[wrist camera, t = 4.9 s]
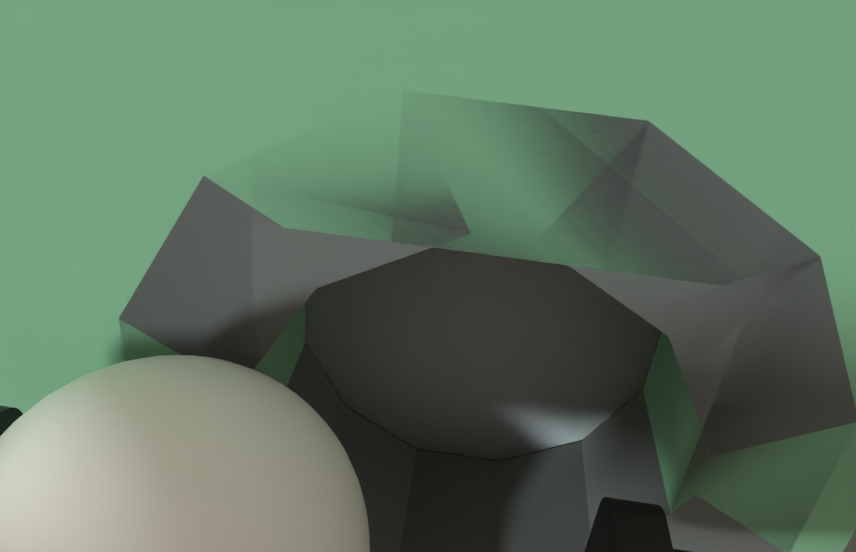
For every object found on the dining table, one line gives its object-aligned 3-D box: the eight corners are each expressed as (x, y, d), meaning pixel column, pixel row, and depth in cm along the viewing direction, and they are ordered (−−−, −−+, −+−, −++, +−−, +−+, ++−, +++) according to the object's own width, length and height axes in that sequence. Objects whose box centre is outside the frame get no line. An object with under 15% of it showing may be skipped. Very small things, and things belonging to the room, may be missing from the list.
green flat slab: (-775, -279, 11) (-1180, -312, 8) (1012, -79, 10) (1190, -46, 7) (-323, 469, 19) (-458, 573, 16) (692, 623, 18) (721, 760, 15)
